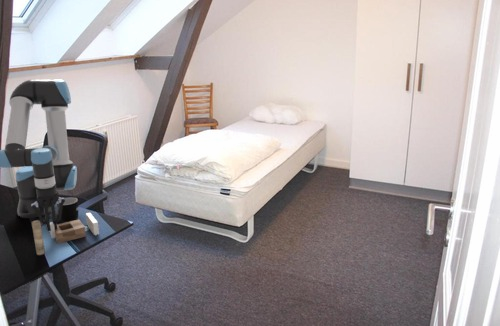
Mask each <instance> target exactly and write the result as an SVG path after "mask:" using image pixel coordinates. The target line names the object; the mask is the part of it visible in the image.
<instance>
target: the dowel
mask: <svg viewBox="0 0 500 326" xmlns="http://www.w3.org/2000/svg"><path fill="white" fill-rule="evenodd" d="M31 227H32V233H33V238H34V239H33V240H34V244H35V245H34V246H35V252H36V255H37V256H43V255H45V253H46V250H45V243H44V237H43V231H42V230H43V229H42V223H41V221H40V219H39V220H33V221H31Z"/></svg>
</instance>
